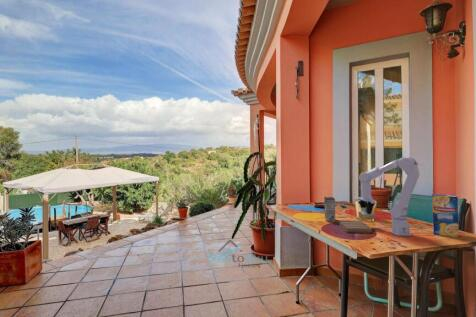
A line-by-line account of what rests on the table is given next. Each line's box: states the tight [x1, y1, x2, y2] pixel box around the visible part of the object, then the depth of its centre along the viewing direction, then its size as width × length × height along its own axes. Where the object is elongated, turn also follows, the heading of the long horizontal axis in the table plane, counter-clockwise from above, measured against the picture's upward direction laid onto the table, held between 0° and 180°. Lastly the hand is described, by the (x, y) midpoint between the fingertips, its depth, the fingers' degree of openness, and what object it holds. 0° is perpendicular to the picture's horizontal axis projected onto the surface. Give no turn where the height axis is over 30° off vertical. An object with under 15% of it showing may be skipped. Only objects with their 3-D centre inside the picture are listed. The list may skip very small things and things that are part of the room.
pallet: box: [358, 211, 376, 220], centre depth 162 cm, size 5×8×4 cm, turn 97°
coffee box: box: [323, 196, 336, 222], centre depth 183 cm, size 9×6×16 cm
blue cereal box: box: [431, 193, 460, 238], centre depth 143 cm, size 7×11×22 cm, turn 54°
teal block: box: [360, 207, 374, 213], centre depth 162 cm, size 4×5×2 cm
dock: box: [338, 219, 373, 234], centre depth 160 cm, size 20×14×2 cm
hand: (366, 213), depth 162 cm, fingers closed on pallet, 5 cm apart
